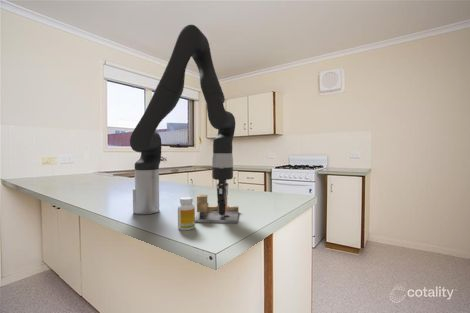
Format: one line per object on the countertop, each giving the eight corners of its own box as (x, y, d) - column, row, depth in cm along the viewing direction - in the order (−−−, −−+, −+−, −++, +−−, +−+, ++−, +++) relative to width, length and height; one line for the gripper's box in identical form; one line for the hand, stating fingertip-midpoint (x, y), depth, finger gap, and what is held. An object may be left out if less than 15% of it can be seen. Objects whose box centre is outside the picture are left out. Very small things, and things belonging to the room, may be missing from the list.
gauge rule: (195, 219, 85) (195, 196, 84) (201, 211, 96) (201, 190, 95) (237, 220, 84) (237, 197, 83) (238, 212, 95) (238, 191, 94)
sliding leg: (217, 216, 84) (217, 196, 84) (218, 213, 88) (218, 194, 87) (226, 216, 84) (226, 196, 84) (227, 213, 87) (227, 195, 87)
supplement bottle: (198, 227, 77) (198, 197, 76) (184, 231, 73) (184, 200, 72) (188, 223, 80) (188, 195, 80) (174, 227, 76) (174, 198, 76)
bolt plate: (194, 222, 82) (194, 219, 82) (200, 213, 93) (200, 210, 93) (237, 223, 81) (237, 220, 81) (238, 214, 92) (238, 211, 92)
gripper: (215, 164, 92) (215, 207, 93) (209, 167, 78) (209, 218, 79) (234, 164, 92) (233, 207, 93) (231, 167, 78) (231, 218, 78)
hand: (222, 212), depth 86 cm, fingers closed on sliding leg, 3 cm apart
